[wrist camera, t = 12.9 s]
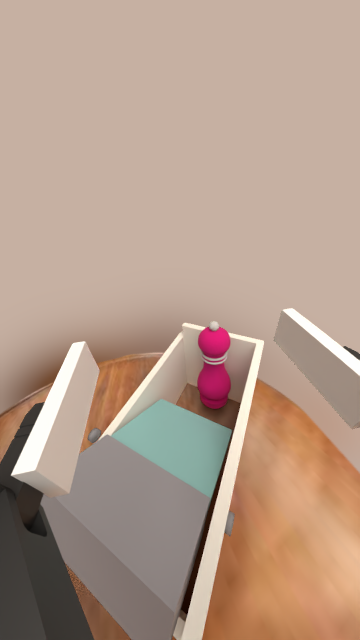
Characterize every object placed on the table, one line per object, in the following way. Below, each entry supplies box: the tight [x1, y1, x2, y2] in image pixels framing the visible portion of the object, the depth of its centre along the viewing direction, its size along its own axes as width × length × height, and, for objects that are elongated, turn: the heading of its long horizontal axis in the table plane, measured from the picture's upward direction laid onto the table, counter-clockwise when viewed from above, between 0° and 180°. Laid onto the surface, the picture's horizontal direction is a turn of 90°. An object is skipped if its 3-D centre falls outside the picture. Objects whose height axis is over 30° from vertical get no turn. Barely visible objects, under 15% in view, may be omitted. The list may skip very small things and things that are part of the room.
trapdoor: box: [40, 399, 232, 640], centre depth 24 cm, size 14×22×4 cm
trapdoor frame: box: [88, 323, 264, 640], centre depth 32 cm, size 19×34×20 cm, turn 153°
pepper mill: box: [197, 321, 231, 409], centre depth 38 cm, size 7×7×20 cm
